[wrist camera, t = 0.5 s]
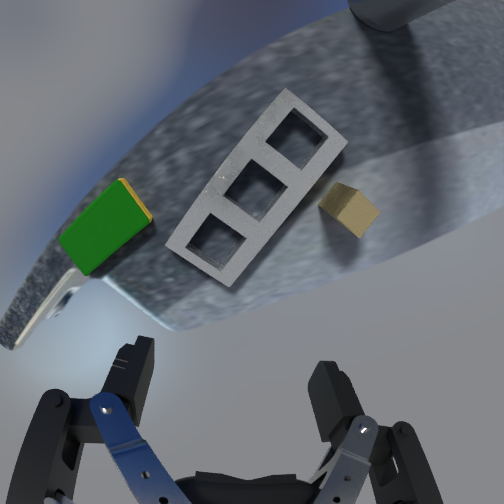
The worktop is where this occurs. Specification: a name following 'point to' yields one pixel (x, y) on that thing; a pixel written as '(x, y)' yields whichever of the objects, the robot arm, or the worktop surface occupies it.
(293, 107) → the rail plate
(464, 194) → the worktop surface
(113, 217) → the dish sponge
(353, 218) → the brass peg
